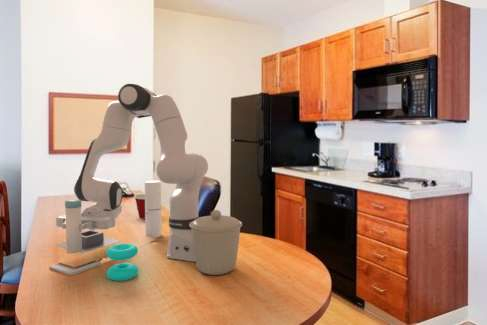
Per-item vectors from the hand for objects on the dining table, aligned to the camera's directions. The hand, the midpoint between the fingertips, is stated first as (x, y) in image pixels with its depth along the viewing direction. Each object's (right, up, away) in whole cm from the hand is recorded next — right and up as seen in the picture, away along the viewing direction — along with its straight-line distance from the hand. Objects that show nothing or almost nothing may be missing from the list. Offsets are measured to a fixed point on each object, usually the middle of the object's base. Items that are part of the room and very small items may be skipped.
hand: (72, 226), depth 129 cm
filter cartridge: (0, -9, +2) cm, 9 cm away
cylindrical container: (+18, -11, +41) cm, 47 cm away
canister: (+50, -15, 0) cm, 53 cm away
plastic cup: (+4, -8, +78) cm, 78 cm away
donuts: (+20, -16, -6) cm, 26 cm away
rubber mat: (0, -14, +2) cm, 15 cm away
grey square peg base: (-5, -12, +25) cm, 28 cm away
